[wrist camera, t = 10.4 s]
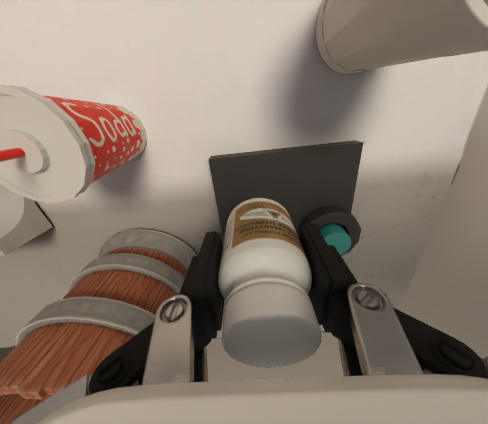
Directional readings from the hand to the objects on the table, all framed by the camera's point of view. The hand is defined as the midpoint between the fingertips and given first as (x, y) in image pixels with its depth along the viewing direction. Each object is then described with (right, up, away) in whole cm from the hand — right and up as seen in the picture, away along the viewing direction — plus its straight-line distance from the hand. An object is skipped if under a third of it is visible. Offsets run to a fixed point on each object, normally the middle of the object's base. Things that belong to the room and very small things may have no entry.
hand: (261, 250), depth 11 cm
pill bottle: (0, +1, +3) cm, 3 cm away
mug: (-16, -6, +16) cm, 23 cm away
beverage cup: (-13, +10, +7) cm, 17 cm away
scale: (+3, +3, +10) cm, 11 cm away
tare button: (+8, 0, +9) cm, 12 cm away
